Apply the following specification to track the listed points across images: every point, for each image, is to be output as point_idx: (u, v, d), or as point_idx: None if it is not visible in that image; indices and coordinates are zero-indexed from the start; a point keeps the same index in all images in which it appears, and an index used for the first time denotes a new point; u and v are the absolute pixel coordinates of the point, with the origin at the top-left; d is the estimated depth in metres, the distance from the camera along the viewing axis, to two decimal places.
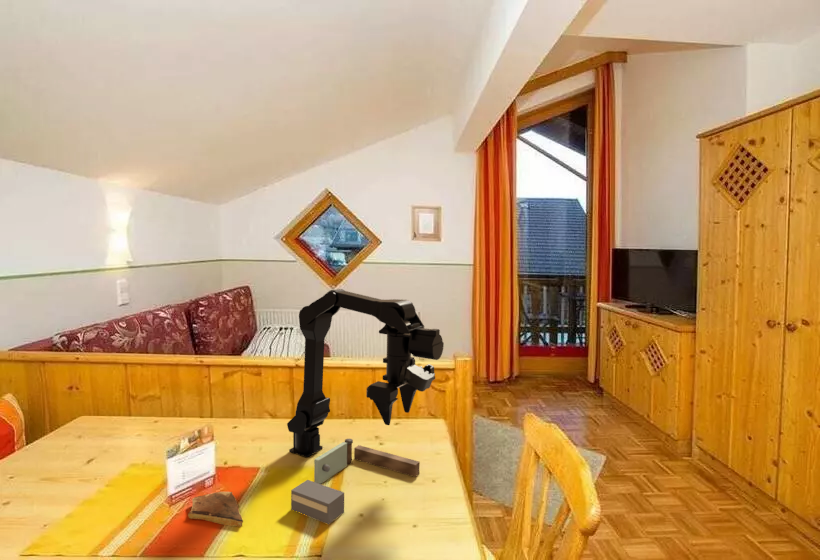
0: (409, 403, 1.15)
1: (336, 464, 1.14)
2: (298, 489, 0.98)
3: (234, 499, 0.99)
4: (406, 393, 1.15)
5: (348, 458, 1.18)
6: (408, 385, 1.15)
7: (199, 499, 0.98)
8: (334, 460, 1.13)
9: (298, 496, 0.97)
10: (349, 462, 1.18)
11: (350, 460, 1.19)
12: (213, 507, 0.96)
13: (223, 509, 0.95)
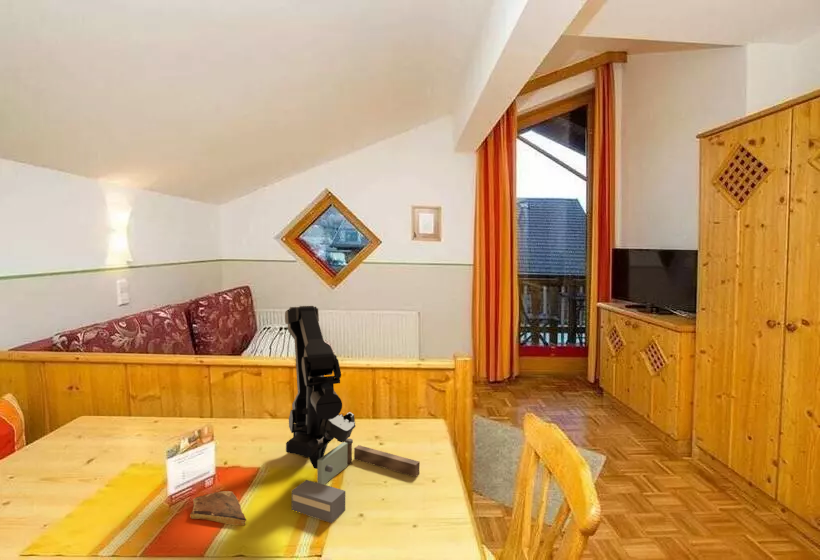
0: (320, 457, 1.11)
1: (338, 464, 1.13)
2: (298, 489, 0.98)
3: (235, 498, 0.99)
4: None
5: (348, 458, 1.18)
6: None
7: (200, 499, 0.98)
8: (336, 460, 1.13)
9: (299, 496, 0.97)
10: (349, 462, 1.18)
11: (350, 460, 1.19)
12: (215, 507, 0.96)
13: (225, 509, 0.95)
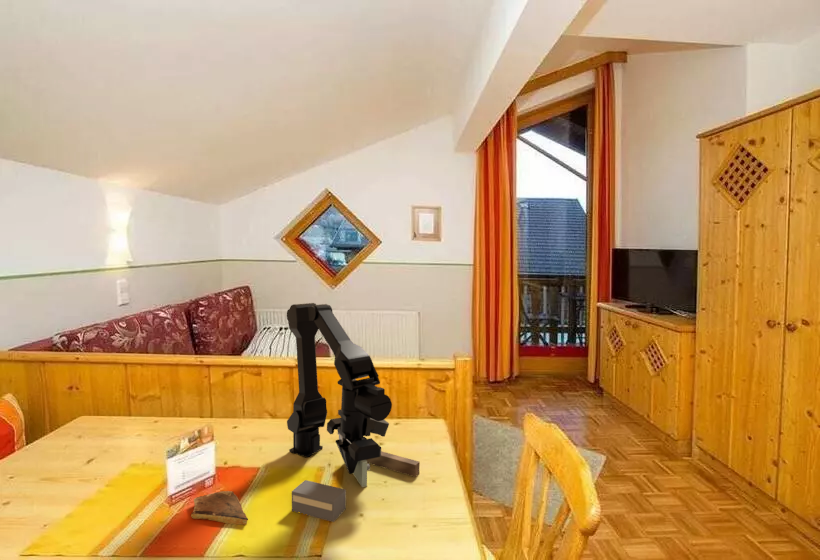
0: None
1: None
2: (298, 489, 0.98)
3: (236, 498, 0.99)
4: None
5: None
6: None
7: (201, 499, 0.98)
8: None
9: (300, 497, 0.97)
10: None
11: None
12: (216, 507, 0.96)
13: (227, 508, 0.95)
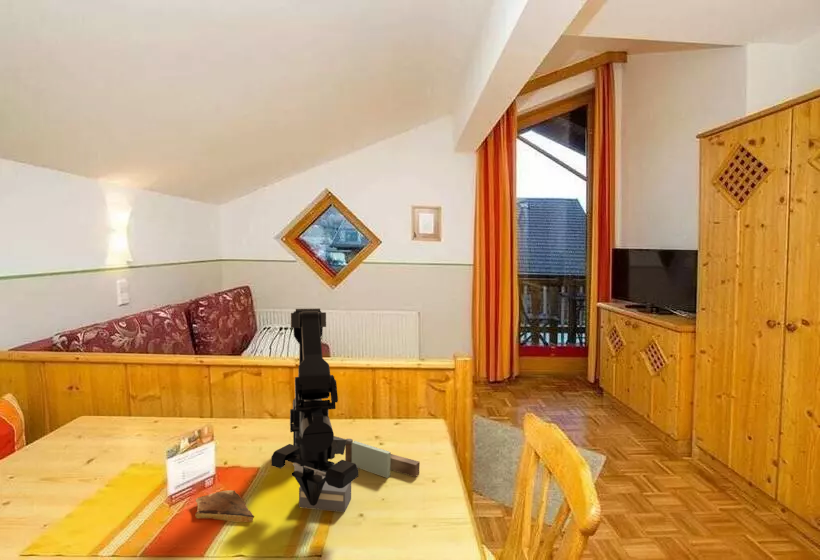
0: None
1: None
2: None
3: (239, 497, 1.00)
4: None
5: (348, 458, 1.18)
6: (311, 472, 0.96)
7: (203, 499, 0.98)
8: None
9: None
10: None
11: (350, 460, 1.19)
12: (220, 506, 0.96)
13: (231, 507, 0.96)
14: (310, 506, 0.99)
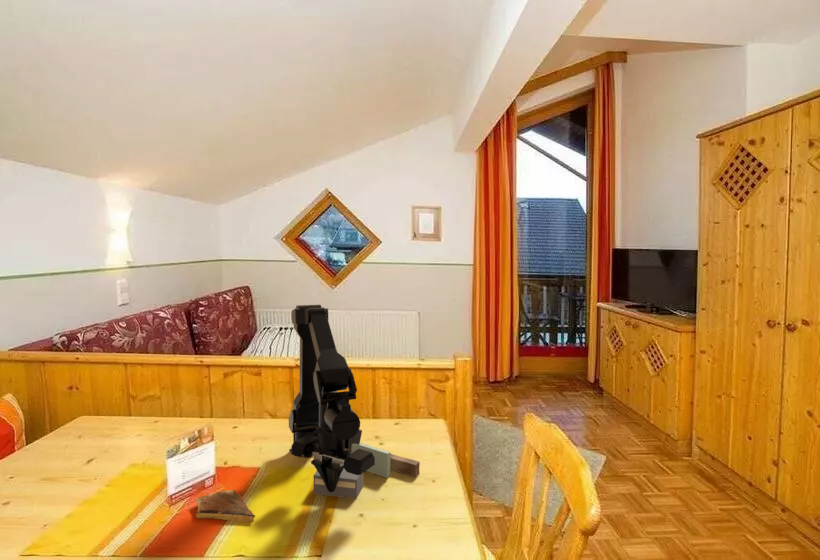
0: None
1: None
2: None
3: (239, 496, 1.00)
4: None
5: None
6: (329, 461, 1.02)
7: (204, 499, 0.98)
8: None
9: None
10: None
11: None
12: (221, 505, 0.96)
13: (232, 507, 0.96)
14: (324, 493, 1.04)
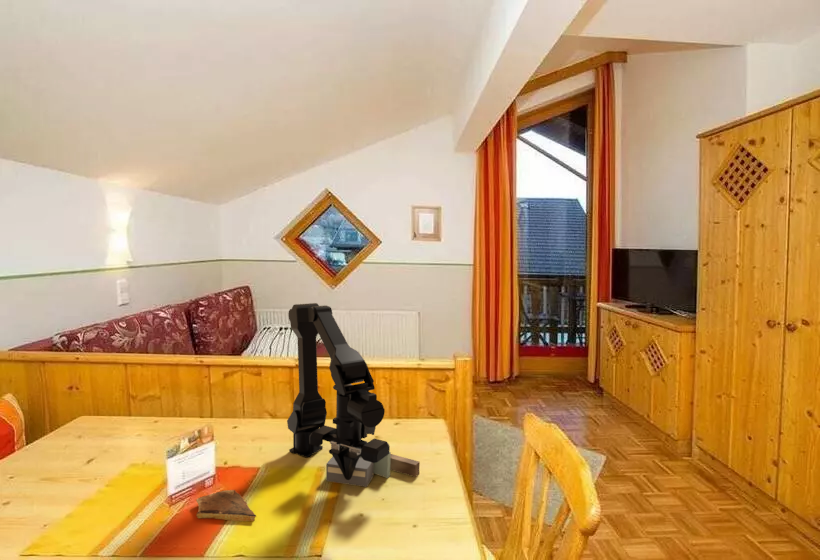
0: None
1: None
2: (332, 462, 1.11)
3: (240, 496, 1.00)
4: None
5: None
6: (346, 450, 1.07)
7: (204, 499, 0.98)
8: None
9: (334, 467, 1.09)
10: None
11: None
12: (221, 505, 0.96)
13: (232, 507, 0.96)
14: (336, 480, 1.10)
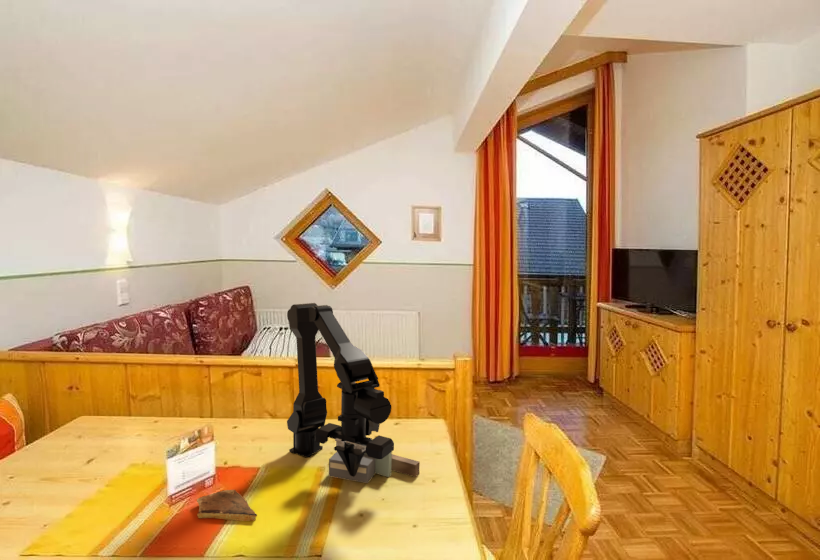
0: None
1: None
2: (334, 457, 1.13)
3: (240, 496, 1.00)
4: None
5: None
6: (351, 447, 1.09)
7: (205, 499, 0.98)
8: None
9: (336, 463, 1.11)
10: None
11: None
12: (222, 505, 0.96)
13: (233, 506, 0.96)
14: (338, 476, 1.12)
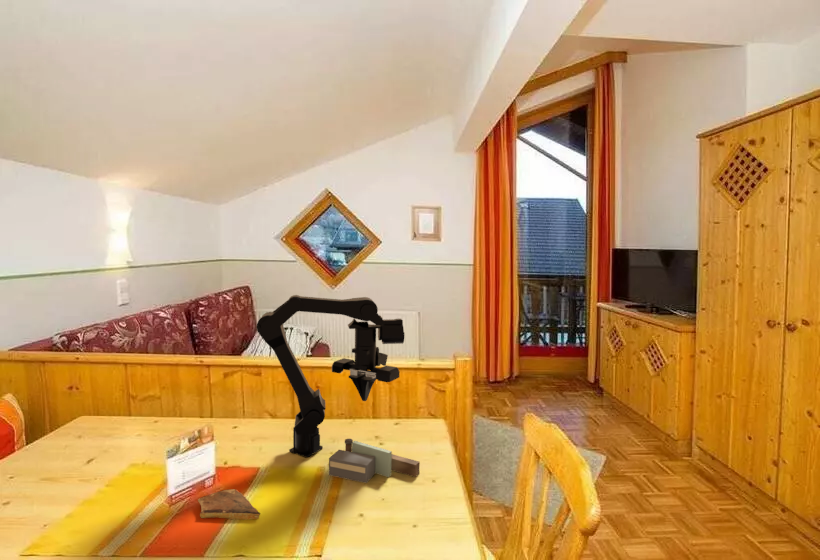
0: None
1: None
2: (334, 457, 1.13)
3: (242, 495, 1.01)
4: None
5: None
6: (362, 376, 1.28)
7: (206, 499, 0.98)
8: None
9: (336, 462, 1.12)
10: None
11: None
12: (224, 504, 0.97)
13: (235, 505, 0.97)
14: (338, 475, 1.12)
